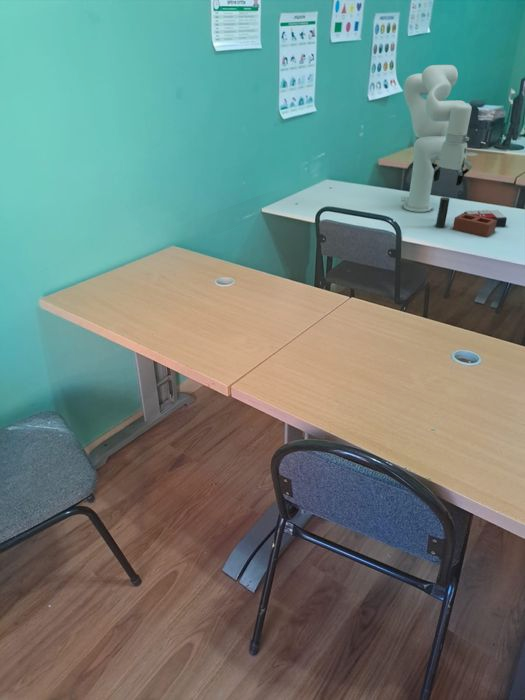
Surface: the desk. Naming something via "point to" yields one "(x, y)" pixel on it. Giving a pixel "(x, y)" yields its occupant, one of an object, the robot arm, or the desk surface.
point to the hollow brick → (474, 224)
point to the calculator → (490, 216)
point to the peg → (442, 212)
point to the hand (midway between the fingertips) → (447, 182)
